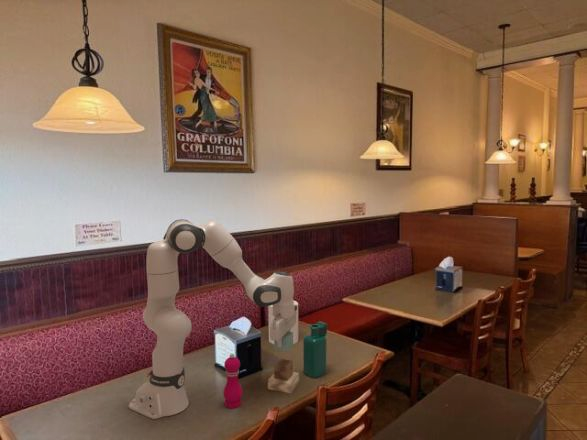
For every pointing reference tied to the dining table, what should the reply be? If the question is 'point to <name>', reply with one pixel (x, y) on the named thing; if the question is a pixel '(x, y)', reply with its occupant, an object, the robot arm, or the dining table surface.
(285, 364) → the walnut block
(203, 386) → the dining table surface
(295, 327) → the canister
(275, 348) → the teal block
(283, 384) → the maple base
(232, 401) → the pepper mill
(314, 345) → the green water bottle
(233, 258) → the robot arm
